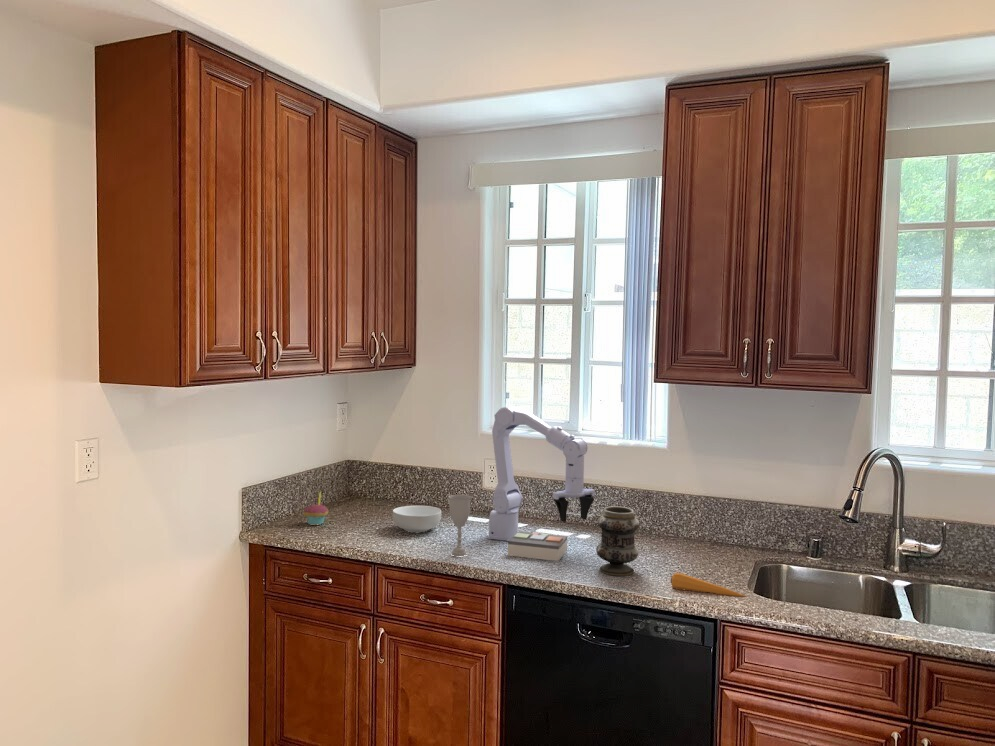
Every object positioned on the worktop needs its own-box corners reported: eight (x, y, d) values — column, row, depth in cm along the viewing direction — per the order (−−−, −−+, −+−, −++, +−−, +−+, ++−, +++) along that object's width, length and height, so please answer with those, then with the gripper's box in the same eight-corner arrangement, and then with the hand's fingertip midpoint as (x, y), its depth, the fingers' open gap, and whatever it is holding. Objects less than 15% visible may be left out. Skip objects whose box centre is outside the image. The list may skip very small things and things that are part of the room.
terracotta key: (545, 547, 226) (546, 539, 226) (549, 543, 230) (549, 536, 230) (559, 548, 225) (559, 540, 225) (562, 544, 229) (562, 537, 229)
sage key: (513, 543, 229) (513, 536, 229) (517, 540, 233) (517, 532, 233) (526, 544, 228) (526, 537, 228) (530, 541, 232) (530, 534, 232)
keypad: (507, 555, 226) (507, 540, 226) (518, 545, 237) (518, 530, 237) (558, 560, 221) (558, 545, 221) (567, 550, 232) (567, 535, 232)
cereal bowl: (450, 532, 251) (450, 512, 251) (406, 539, 242) (406, 518, 242) (426, 521, 265) (426, 502, 265) (384, 528, 256) (384, 507, 256)
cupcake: (317, 520, 265) (317, 487, 264) (333, 524, 260) (333, 490, 259) (298, 525, 258) (298, 491, 257) (314, 528, 253) (314, 494, 253)
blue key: (529, 545, 228) (529, 537, 228) (533, 541, 232) (533, 534, 232) (542, 546, 226) (542, 539, 226) (546, 543, 230) (546, 535, 230)
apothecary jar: (638, 578, 206) (639, 515, 205) (594, 575, 208) (596, 512, 207) (637, 565, 218) (639, 505, 217) (596, 563, 220) (598, 503, 219)
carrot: (669, 591, 198) (670, 578, 197) (672, 580, 202) (673, 567, 200) (746, 609, 191) (748, 596, 190) (748, 598, 195) (750, 584, 193)
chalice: (474, 553, 227) (475, 495, 227) (466, 559, 221) (467, 500, 220) (452, 550, 230) (453, 493, 229) (443, 556, 223) (444, 498, 223)
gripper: (561, 481, 225) (560, 525, 225) (600, 477, 231) (599, 520, 232) (549, 477, 231) (548, 519, 232) (588, 473, 238) (587, 515, 238)
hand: (573, 519), depth 232 cm, fingers open, 7 cm apart
